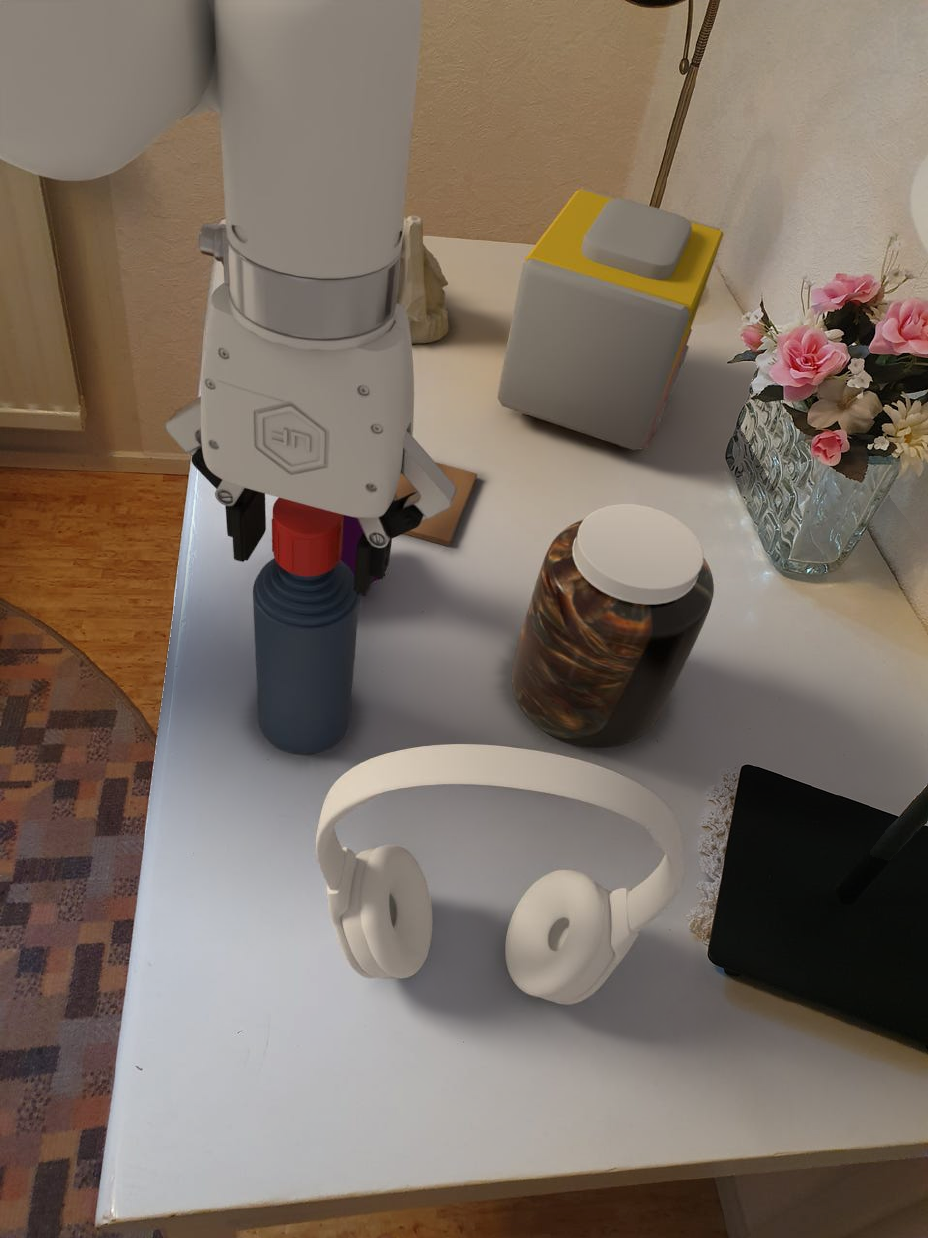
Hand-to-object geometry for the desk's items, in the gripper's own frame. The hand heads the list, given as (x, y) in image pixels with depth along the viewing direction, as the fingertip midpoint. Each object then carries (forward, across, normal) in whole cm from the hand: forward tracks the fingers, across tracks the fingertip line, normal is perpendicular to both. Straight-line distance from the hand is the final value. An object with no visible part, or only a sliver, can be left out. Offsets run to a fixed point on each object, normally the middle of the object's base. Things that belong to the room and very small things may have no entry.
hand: (308, 560), depth 54 cm
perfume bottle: (+16, -3, +14) cm, 21 cm away
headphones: (+16, +15, -13) cm, 25 cm away
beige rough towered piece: (+16, -13, +56) cm, 60 cm away
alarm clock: (+16, +13, +49) cm, 53 cm away
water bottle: (+15, 0, 0) cm, 15 cm away
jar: (+16, +19, +10) cm, 27 cm away
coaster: (+15, 0, +26) cm, 30 cm away
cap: (-1, 0, 0) cm, 1 cm away
